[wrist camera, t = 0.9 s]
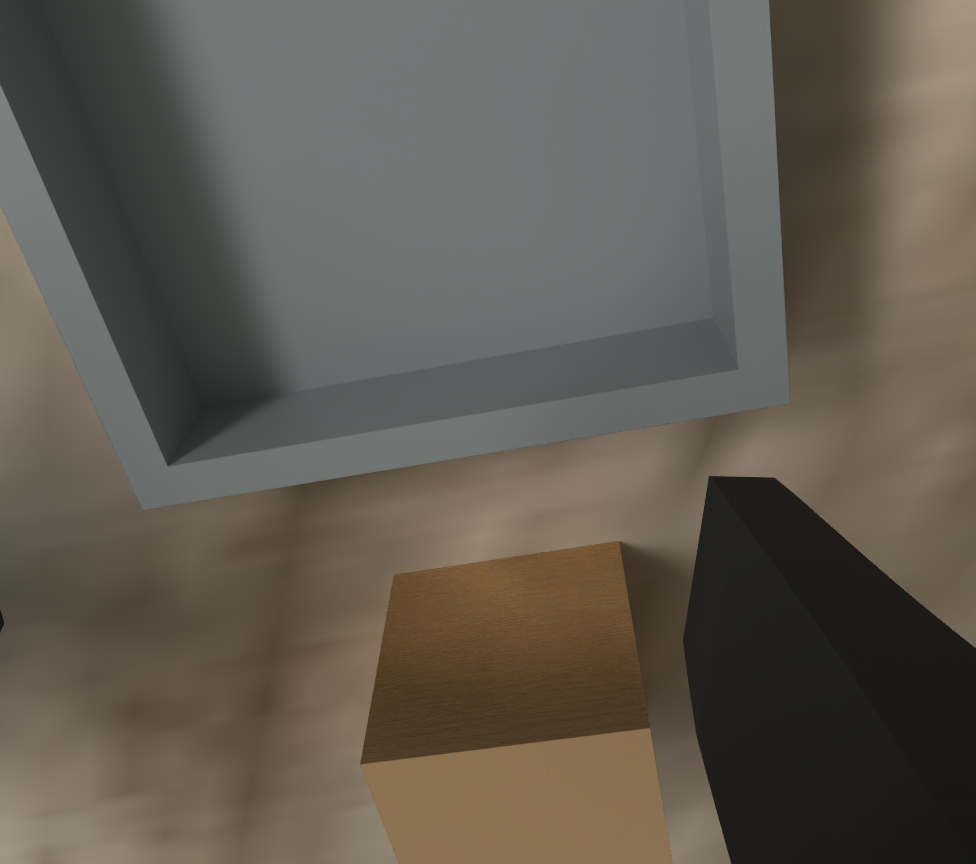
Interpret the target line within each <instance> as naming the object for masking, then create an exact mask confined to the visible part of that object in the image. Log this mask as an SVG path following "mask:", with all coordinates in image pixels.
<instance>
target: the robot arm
mask: <svg viewBox="0 0 976 864" xmlns="http://www.w3.org/2000/svg"><path fill="white" fill-rule="evenodd" d="M3 625H4V620H3V617H2V614H1V611H0V632H1V629H2V627H3ZM683 644H684V651H685V659H686V666H687V674H688V681H689V688H690V696H691V702H692V709H693V715H694V721H695V728H696V734H697V739H698V743H699V747H700V750H701V754H702V758H703V762H704V766H705V769H706V773H707V777H708V780H709V784H710V788H711V791H712V795H713V799H714V803H715V806H716V810H717V814H718V817H719V821H720V825H721V828H722V832H723V835H724V839H725V843H726V846H727V850H728V853H729V857H730V861H731V864H976V648H975V647H973V646H972V645H971V644H970V643H968V642H967V641H966V640H965V639H963V638H962V637H961V636H960V635H958V634H957V633H956V632H955V631H953V630H952V629H951V628H950V627H948V626H947V625H946V624H945V623H943V622H942V621H941V620H940V619H938V618H937V617H936V616H935V615H933V614H932V613H931V612H930V611H929V610H927V609H926V608H925V607H924V606H923V605H921V604H920V603H919V602H918V601H917V600H915V599H914V598H913V597H912V596H911V595H909V594H908V593H907V592H906V591H905V590H904V589H902V588H901V587H900V586H899V585H898V584H896V583H895V582H894V581H893V580H892V579H891V578H889V577H888V576H887V575H886V574H885V573H884V572H882V571H881V570H880V569H879V568H878V567H877V566H875V565H874V564H873V563H872V562H871V561H870V560H869V559H867V558H866V557H865V556H864V555H863V554H862V553H861V552H859V551H858V550H857V549H856V548H855V547H854V546H853V545H852V544H850V543H849V542H848V541H847V540H846V539H845V538H844V537H842V536H841V535H840V534H839V533H838V532H837V531H836V530H835V529H833V528H832V527H831V526H830V525H829V524H828V523H827V522H826V521H824V520H823V519H822V518H821V517H820V516H819V515H818V514H816V513H815V512H814V511H813V510H812V509H811V508H810V507H809V506H807V505H806V504H805V503H804V502H803V501H802V500H801V499H799V498H798V497H797V496H796V495H795V494H794V493H792V492H791V491H790V490H789V489H788V488H786V487H785V486H784V485H783V484H781V483H780V482H779V481H778V480H776V479H775V478H764V477H724V476H709V480H708V487H707V493H706V499H705V506H704V512H703V518H702V525H701V531H700V537H699V544H698V550H697V556H696V563H695V569H694V575H693V582H692V588H691V594H690V601H689V607H688V613H687V620H686V626H685V632H684V639H683Z"/></svg>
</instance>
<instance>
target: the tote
mask: <svg viewBox="0 0 976 864" xmlns="http://www.w3.org/2000/svg"><path fill="white" fill-rule="evenodd" d="M0 206H1V208H2V210H3V212H4V214H5V216H6V218H7V221H8V223H9V225H10V227H11V229H12V231H13V233H14V236H15V238H16V240H17V242H18V244H19V246H20V248H21V251H22V253H23V255H24V257H25V259H26V261H27V263H28V266H29V268H30V270H31V272H32V274H33V276H34V279H35V281H36V283H37V285H38V287H39V289H40V291H41V294H42V296H43V298H44V300H45V302H46V304H47V306H48V309H49V311H50V313H51V315H52V317H53V319H54V321H55V324H56V326H57V328H58V330H59V332H60V334H61V336H62V339H63V341H64V343H65V345H66V347H67V349H68V351H69V354H70V356H71V358H72V360H73V362H74V364H75V366H76V369H77V371H78V373H79V375H80V377H81V379H82V382H83V384H84V386H85V388H86V390H87V392H88V394H89V397H90V399H91V401H92V403H93V405H94V407H95V409H96V412H97V414H98V416H99V418H100V420H101V422H102V424H103V427H104V429H105V431H106V433H107V435H108V437H109V439H110V442H111V444H112V446H113V448H114V450H115V452H116V454H117V457H118V459H119V461H120V463H121V465H122V467H123V470H124V472H125V474H126V476H127V478H128V480H129V482H130V485H131V487H132V489H133V491H134V493H135V495H136V497H137V500H138V502H139V504H140V506H141V508H142V510H147V509H153V508H159V507H165V506H171V505H178V504H184V503H190V502H196V501H202V500H208V499H214V498H220V497H226V496H232V495H238V494H244V493H250V492H256V491H263V490H269V489H275V488H281V487H287V486H293V485H299V484H305V483H311V482H317V481H323V480H329V479H335V478H341V477H348V476H354V475H360V474H366V473H372V472H378V471H384V470H390V469H396V468H402V467H408V466H414V465H420V464H427V463H433V462H439V461H445V460H451V459H457V458H463V457H469V456H475V455H481V454H487V453H493V452H499V451H505V450H512V449H518V448H524V447H530V446H536V445H542V444H548V443H554V442H560V441H566V440H572V439H578V438H584V437H591V436H597V435H603V434H609V433H615V432H621V431H627V430H633V429H639V428H645V427H651V426H657V425H663V424H669V423H676V422H682V421H688V420H694V419H700V418H706V417H712V416H718V415H724V414H730V413H736V412H742V411H748V410H755V409H761V408H767V407H773V406H779V405H785V404H790V392H789V373H788V354H787V335H786V316H785V297H784V278H783V259H782V240H781V221H780V202H779V182H778V163H777V144H776V125H775V106H774V87H773V68H772V49H771V30H770V11H769V0H0Z"/></svg>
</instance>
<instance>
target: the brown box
mask: <svg viewBox="0 0 976 864" xmlns="http://www.w3.org/2000/svg"><path fill="white" fill-rule="evenodd" d="M360 765H361V768H362V770H363V773H364V775H365V778H366V781H367V783H368V786H369V788H370V791H371V793H372V796H373V798H374V801H375V804H376V806H377V809H378V811H379V814H380V816H381V819H382V821H383V824H384V827H385V829H386V832H387V834H388V837H389V839H390V842H391V845H392V847H393V850H394V852H395V855H396V857H397V860H398V862H399V864H673V862H672V856H671V850H670V844H669V838H668V832H667V826H666V820H665V814H664V808H663V802H662V796H661V790H660V784H659V778H658V772H657V766H656V760H655V754H654V748H653V742H652V736H651V730H650V724H649V718H648V712H647V706H646V700H645V694H644V688H643V682H642V676H641V670H640V664H639V658H638V652H637V646H636V640H635V634H634V628H633V622H632V616H631V610H630V604H629V598H628V592H627V586H626V580H625V574H624V568H623V562H622V556H621V550H620V544H619V541H616V542H609V543H603V544H596V545H589V546H583V547H576V548H569V549H563V550H556V551H550V552H543V553H536V554H530V555H523V556H516V557H510V558H503V559H496V560H490V561H483V562H476V563H470V564H463V565H457V566H450V567H443V568H437V569H430V570H423V571H417V572H410V573H403V574H397V575H394V577H393V583H392V589H391V594H390V600H389V606H388V611H387V617H386V622H385V628H384V634H383V639H382V645H381V651H380V656H379V662H378V667H377V673H376V679H375V684H374V690H373V696H372V701H371V707H370V712H369V718H368V724H367V729H366V735H365V741H364V746H363V752H362V757H361V763H360Z"/></svg>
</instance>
